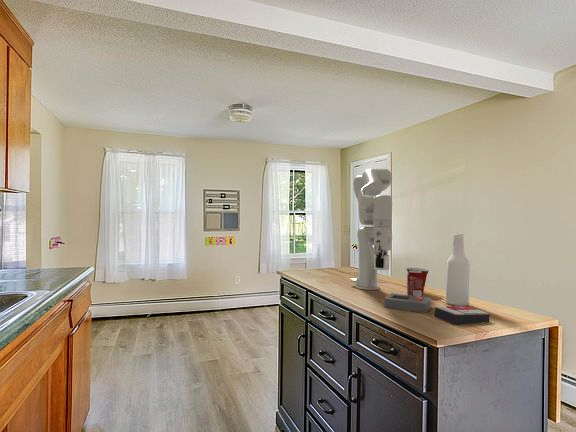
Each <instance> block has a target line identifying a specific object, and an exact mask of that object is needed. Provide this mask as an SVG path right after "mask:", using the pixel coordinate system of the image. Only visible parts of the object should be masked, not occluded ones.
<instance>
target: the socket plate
mask: <svg viewBox="0 0 576 432" xmlns="http://www.w3.org/2000/svg"><path fill="white" fill-rule="evenodd" d="M383 299H384V301H383V305H384V306H383V307H384V308H386V309H387V308H388V309H395V310H401V311H402V310H403V311H408V312H416V313H422V314H426V313H427V312H428V311H429V309H430V308H431V307H432V305H431V304H432V297H427V296H426V297H425V296H424V297H423V296H422V297H418V296H410V295H407V294H399V293H393V292H392V293H390V294H388V295H387V296H385V298H383Z"/></svg>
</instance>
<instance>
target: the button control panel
mask: <svg viewBox="0 0 576 432" xmlns="http://www.w3.org/2000/svg"><path fill="white" fill-rule="evenodd" d="M433 314H434V315H433V317H434V318H437V319H439V320H442V321H445V322H446V323H449V324H452V325H455V326H460V325H467V324H468V325H469V324H482V322H485V323H490V320H491V319H490V317H491V316H490V314H489V312H486V311H483V310H480V309H476V308H473V307H471V306H468V305H467V306H453V305H448V306H447V305H446V306H436V307H434V312H433Z"/></svg>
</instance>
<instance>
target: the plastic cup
mask: <svg viewBox="0 0 576 432" xmlns="http://www.w3.org/2000/svg"><path fill="white" fill-rule="evenodd" d="M405 269H406V272H407V274H408V273H409V271H410V270H416V271H421V273H422V275H423V293H424V291H425V287H426V282H427V276H428V274H429V271H430V269H426V268H420V267H405Z"/></svg>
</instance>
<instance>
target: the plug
mask: <svg viewBox="0 0 576 432" xmlns="http://www.w3.org/2000/svg"><path fill="white" fill-rule="evenodd" d="M379 251H382V250H379ZM383 258H384V268H376V255H374V269H375V270H377V271H378V270H379V271H388V270H390V254H388V255H384V252H383Z"/></svg>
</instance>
